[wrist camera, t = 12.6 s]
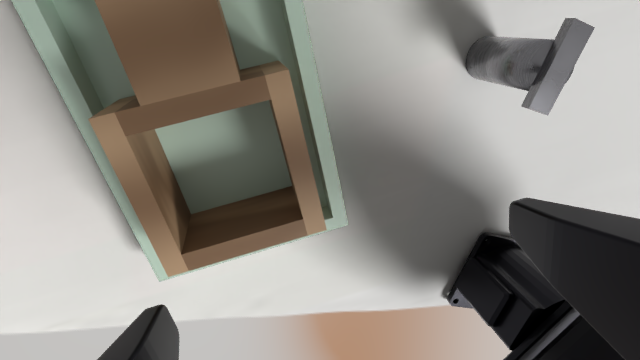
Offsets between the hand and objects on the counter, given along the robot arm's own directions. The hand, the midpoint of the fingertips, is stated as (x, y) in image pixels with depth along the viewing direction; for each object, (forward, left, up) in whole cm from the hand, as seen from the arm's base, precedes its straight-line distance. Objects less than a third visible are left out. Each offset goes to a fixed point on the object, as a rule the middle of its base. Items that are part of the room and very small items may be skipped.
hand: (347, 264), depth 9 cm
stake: (-10, -7, -13) cm, 18 cm away
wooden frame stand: (+4, 0, -12) cm, 13 cm away
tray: (+4, 0, -13) cm, 13 cm away
